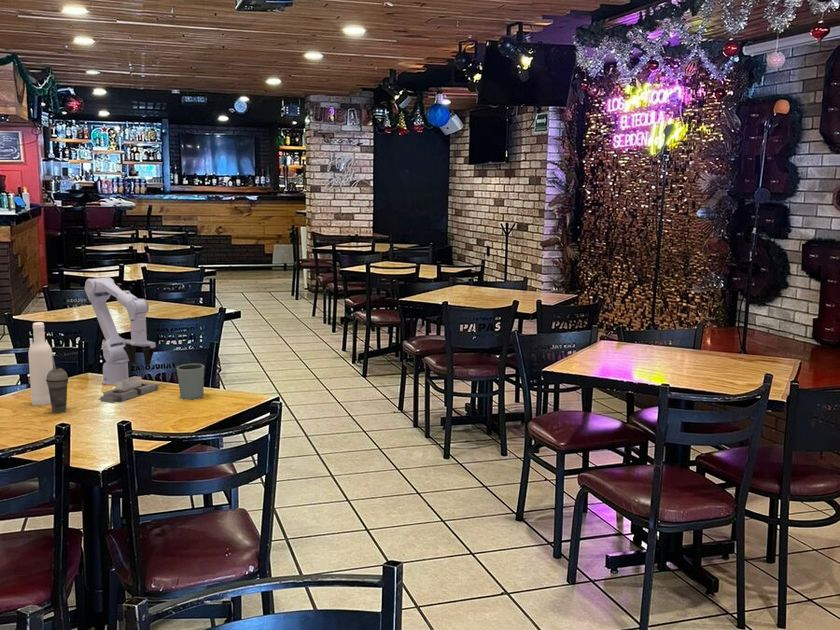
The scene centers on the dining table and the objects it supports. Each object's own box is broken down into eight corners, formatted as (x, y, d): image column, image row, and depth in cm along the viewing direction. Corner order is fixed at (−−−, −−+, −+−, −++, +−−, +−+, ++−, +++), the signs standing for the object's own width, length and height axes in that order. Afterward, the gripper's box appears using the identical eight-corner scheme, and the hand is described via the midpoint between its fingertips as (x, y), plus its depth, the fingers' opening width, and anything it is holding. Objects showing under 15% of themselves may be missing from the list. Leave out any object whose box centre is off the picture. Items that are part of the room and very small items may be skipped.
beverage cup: (64, 413, 280) (61, 358, 277) (44, 413, 280) (40, 357, 277) (74, 408, 287) (70, 353, 284) (53, 408, 288) (50, 353, 284)
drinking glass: (210, 396, 306) (209, 365, 304) (190, 401, 298) (189, 370, 296) (192, 392, 311) (191, 362, 309) (171, 397, 303) (170, 367, 301)
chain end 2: (122, 392, 308) (122, 386, 308) (142, 386, 318) (142, 380, 318) (141, 395, 305) (140, 389, 304) (160, 388, 315) (160, 382, 314)
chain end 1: (97, 400, 296) (97, 394, 296) (119, 393, 306) (118, 387, 306) (116, 403, 293) (116, 397, 293) (137, 396, 303) (137, 390, 303)
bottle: (26, 404, 292) (21, 323, 287) (45, 399, 299) (40, 320, 294) (41, 407, 288) (35, 325, 283) (60, 402, 295) (55, 322, 290)
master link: (116, 397, 301) (115, 381, 300) (135, 391, 310) (134, 376, 309) (123, 398, 300) (122, 382, 299) (141, 392, 309) (141, 377, 308)
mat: (97, 400, 298) (97, 399, 298) (137, 387, 317) (137, 386, 317) (120, 403, 294) (120, 402, 294) (159, 390, 313) (159, 389, 313)
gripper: (116, 330, 311) (118, 364, 314) (146, 333, 306) (147, 367, 308) (129, 327, 318) (131, 360, 320) (158, 330, 312) (160, 364, 315)
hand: (140, 364), depth 314 cm, fingers open, 7 cm apart
